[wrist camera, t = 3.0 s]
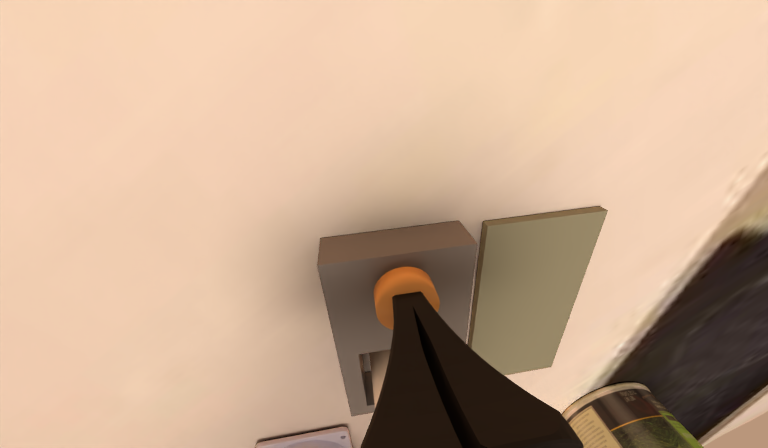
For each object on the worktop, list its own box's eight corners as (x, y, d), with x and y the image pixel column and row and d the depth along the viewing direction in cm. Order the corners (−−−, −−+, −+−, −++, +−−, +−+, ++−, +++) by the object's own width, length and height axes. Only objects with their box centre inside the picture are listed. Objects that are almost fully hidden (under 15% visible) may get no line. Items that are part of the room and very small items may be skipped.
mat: (546, 360, 24) (551, 366, 24) (464, 375, 24) (467, 382, 23) (599, 206, 17) (607, 210, 17) (482, 221, 17) (487, 226, 16)
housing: (448, 365, 23) (459, 396, 21) (350, 382, 22) (351, 416, 20) (458, 220, 16) (477, 243, 14) (320, 238, 16) (317, 265, 13)
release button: (420, 278, 17) (439, 325, 14) (371, 285, 17) (378, 335, 14) (420, 236, 15) (440, 278, 12) (366, 244, 15) (373, 288, 12)
